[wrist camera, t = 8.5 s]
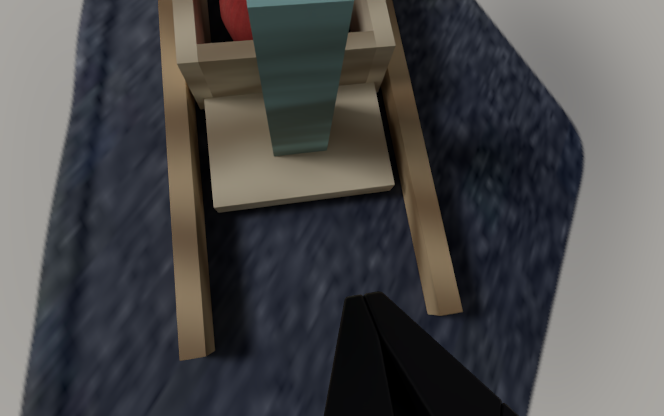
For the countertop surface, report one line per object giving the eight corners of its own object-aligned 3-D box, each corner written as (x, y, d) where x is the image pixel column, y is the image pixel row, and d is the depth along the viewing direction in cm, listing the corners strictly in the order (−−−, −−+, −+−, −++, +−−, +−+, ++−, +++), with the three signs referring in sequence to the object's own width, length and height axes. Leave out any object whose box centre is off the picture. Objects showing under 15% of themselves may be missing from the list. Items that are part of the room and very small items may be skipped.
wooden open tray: (397, 189, 22) (508, 65, 11) (209, 214, 21) (94, 103, 9) (351, -37, 26) (395, -315, 14) (188, -28, 25) (88, -326, 13)
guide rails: (447, 310, 21) (462, 311, 19) (191, 354, 20) (179, 360, 18) (373, -30, 26) (379, -57, 24) (166, -18, 25) (155, -46, 23)
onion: (295, -1, 25) (293, -133, 18) (339, 66, 24) (357, -44, 17) (216, 33, 24) (177, -93, 16) (259, 104, 23) (239, 6, 16)
